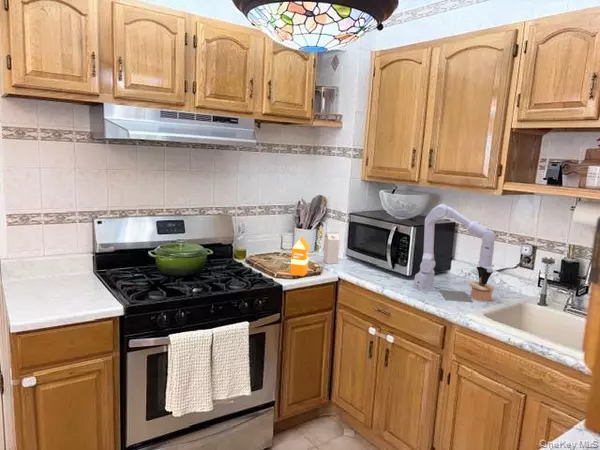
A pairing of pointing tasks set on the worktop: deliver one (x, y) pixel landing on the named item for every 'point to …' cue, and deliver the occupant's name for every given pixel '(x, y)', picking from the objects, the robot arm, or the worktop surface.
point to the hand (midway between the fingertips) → (482, 282)
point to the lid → (481, 286)
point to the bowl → (481, 294)
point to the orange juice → (300, 258)
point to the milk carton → (331, 248)
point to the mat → (455, 296)
